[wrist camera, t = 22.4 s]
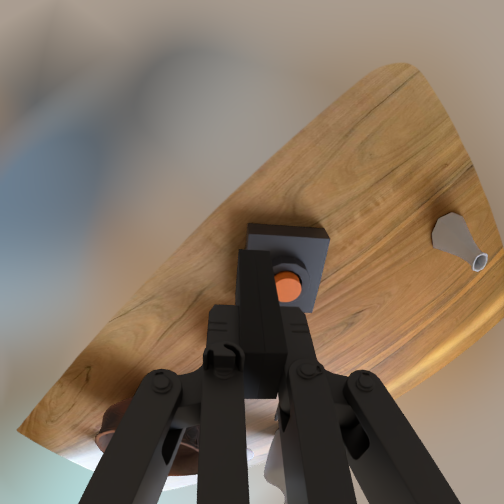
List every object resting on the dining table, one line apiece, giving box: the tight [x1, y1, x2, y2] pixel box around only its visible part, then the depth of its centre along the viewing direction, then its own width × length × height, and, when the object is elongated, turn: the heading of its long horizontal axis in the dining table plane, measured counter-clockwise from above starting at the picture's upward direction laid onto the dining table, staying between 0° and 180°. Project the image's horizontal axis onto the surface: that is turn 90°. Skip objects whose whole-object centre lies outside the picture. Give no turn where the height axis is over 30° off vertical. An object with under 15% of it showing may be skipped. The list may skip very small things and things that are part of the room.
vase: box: [264, 429, 287, 504], centre depth 64 cm, size 14×14×25 cm
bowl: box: [95, 397, 200, 476], centre depth 59 cm, size 25×25×15 cm
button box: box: [245, 223, 330, 313], centre depth 45 cm, size 13×11×5 cm
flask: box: [432, 212, 488, 272], centre depth 41 cm, size 7×7×10 cm
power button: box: [274, 271, 301, 302], centre depth 43 cm, size 4×4×2 cm
